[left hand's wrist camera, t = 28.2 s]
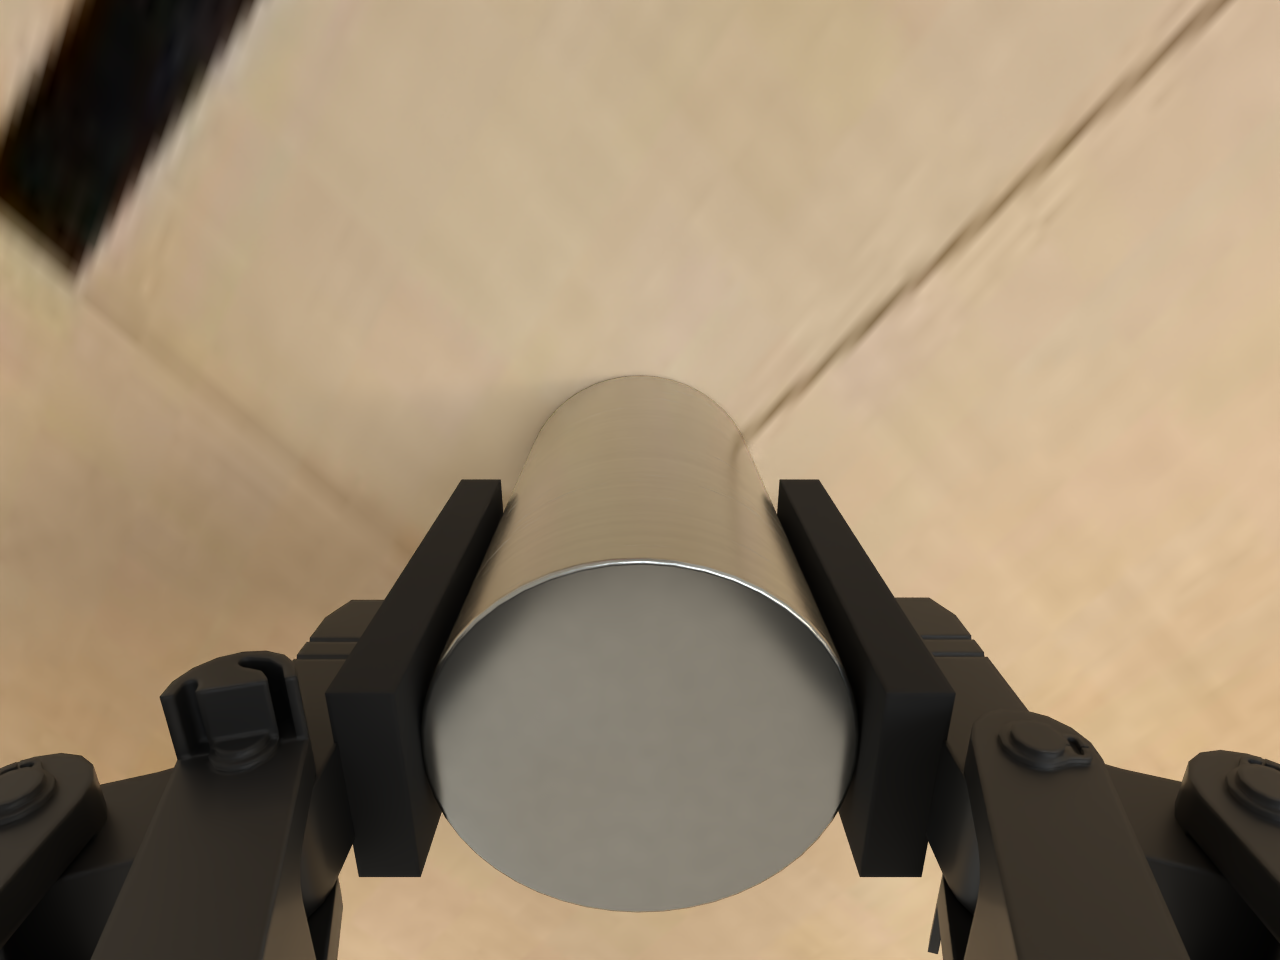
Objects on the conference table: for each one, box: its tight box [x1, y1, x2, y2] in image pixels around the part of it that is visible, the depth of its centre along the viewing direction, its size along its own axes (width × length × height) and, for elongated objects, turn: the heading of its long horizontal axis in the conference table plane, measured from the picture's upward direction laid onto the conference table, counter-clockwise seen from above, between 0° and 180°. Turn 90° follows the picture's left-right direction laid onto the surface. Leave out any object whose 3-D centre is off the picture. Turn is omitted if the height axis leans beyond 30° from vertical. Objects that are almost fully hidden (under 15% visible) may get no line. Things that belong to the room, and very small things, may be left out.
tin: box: [420, 376, 860, 912], centre depth 13 cm, size 5×5×9 cm
